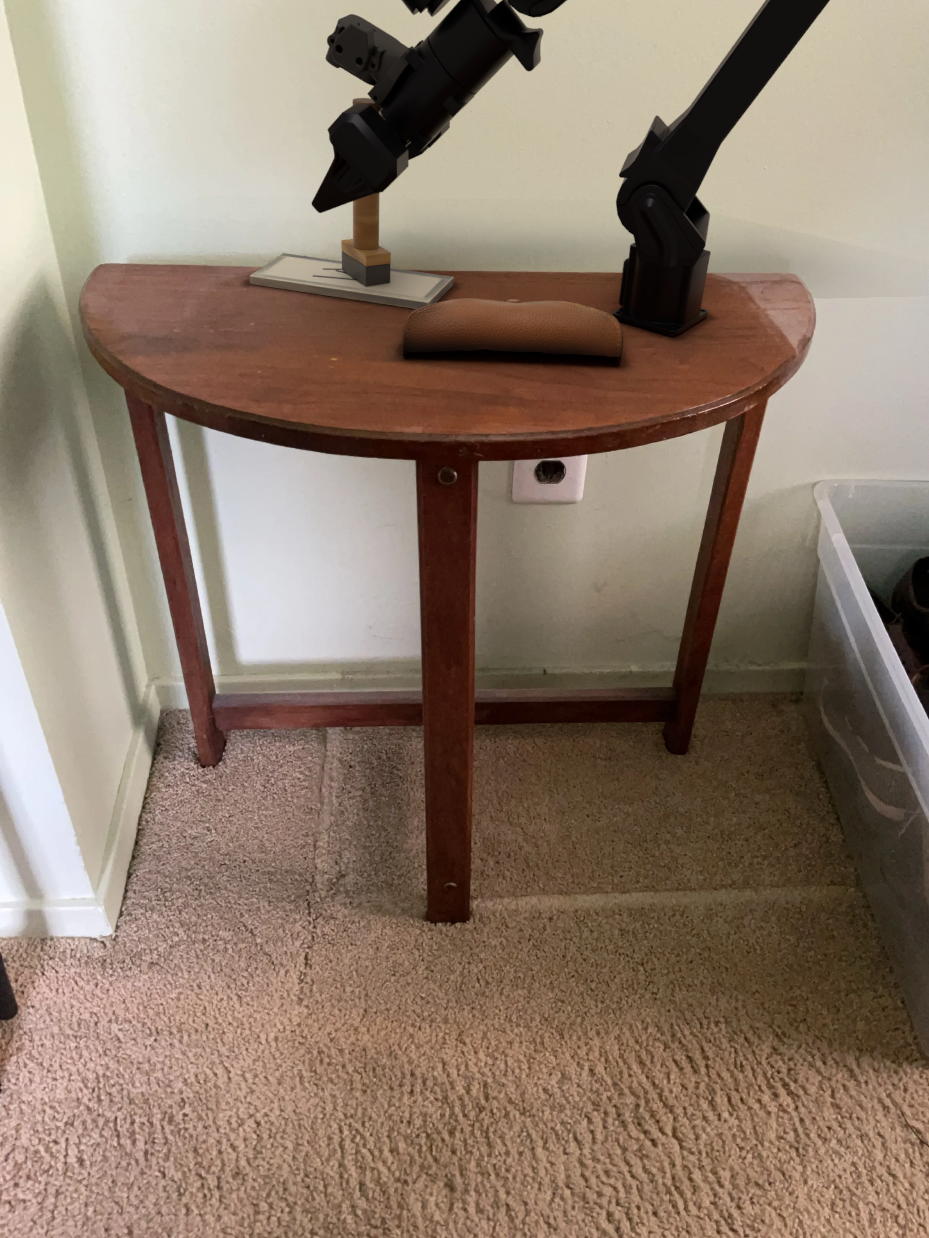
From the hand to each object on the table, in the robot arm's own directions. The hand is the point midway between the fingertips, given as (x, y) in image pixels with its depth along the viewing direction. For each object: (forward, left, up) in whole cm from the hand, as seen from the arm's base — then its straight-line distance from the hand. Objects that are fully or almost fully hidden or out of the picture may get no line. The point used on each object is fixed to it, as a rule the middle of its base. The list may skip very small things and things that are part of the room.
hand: (333, 194), depth 90 cm
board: (-1, -1, -8) cm, 8 cm away
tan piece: (-2, -1, -7) cm, 8 cm away
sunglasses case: (-21, +1, -8) cm, 23 cm away
